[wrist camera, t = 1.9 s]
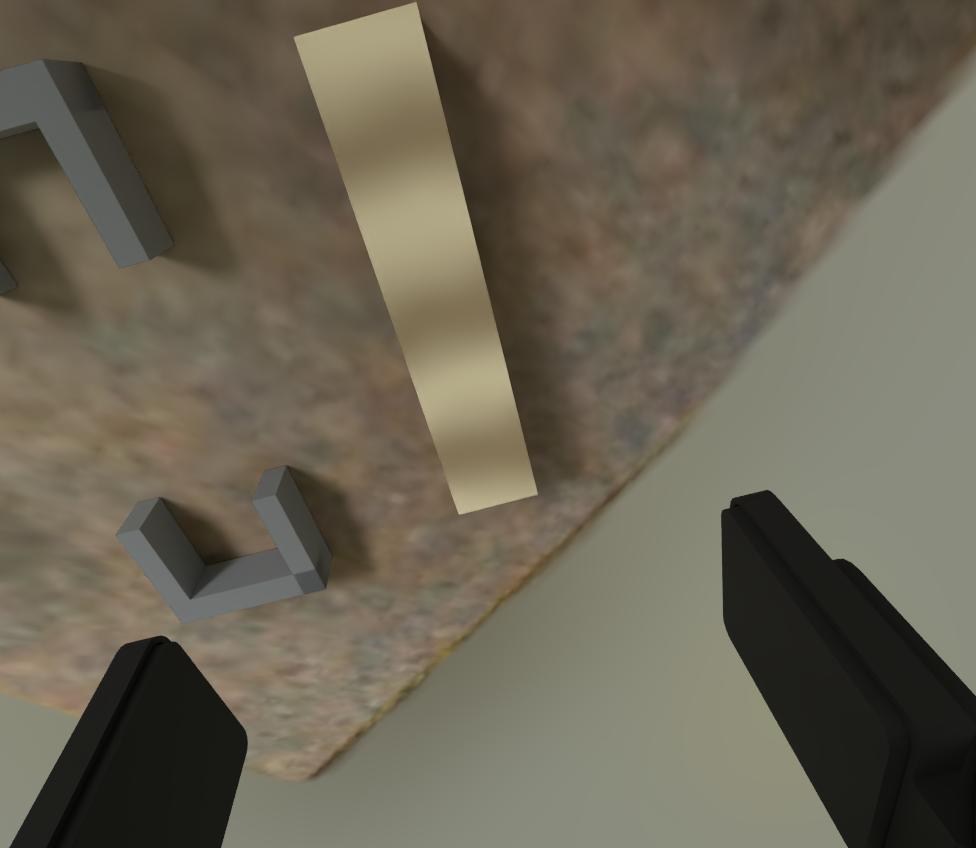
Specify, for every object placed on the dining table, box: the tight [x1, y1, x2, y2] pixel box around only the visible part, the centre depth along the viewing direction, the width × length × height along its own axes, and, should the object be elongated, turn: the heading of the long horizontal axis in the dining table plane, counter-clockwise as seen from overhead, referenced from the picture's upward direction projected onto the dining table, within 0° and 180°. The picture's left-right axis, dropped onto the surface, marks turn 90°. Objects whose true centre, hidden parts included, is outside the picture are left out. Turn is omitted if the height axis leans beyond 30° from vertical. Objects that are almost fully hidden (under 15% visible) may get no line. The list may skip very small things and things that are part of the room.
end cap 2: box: [115, 466, 332, 624], centre depth 30 cm, size 6×8×2 cm
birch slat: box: [294, 2, 538, 515], centre depth 24 cm, size 20×4×4 cm, turn 14°
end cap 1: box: [0, 59, 174, 295], centre depth 21 cm, size 6×8×2 cm
